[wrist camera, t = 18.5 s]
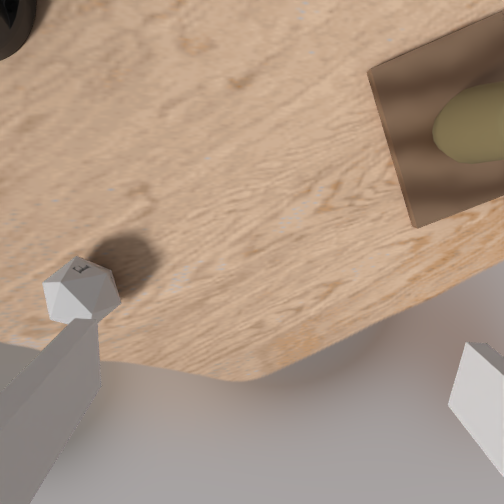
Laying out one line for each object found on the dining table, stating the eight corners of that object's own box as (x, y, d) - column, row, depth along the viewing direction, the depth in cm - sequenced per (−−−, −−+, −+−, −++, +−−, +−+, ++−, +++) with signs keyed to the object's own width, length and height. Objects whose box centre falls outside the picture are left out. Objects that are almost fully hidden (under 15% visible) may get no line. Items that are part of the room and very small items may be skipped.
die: (142, 289, 49) (110, 266, 40) (104, 344, 46) (62, 333, 37) (98, 263, 51) (58, 236, 42) (60, 315, 48) (9, 298, 39)
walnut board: (366, 72, 41) (370, 68, 39) (493, 16, 39) (502, 11, 38) (412, 226, 45) (417, 228, 44) (526, 182, 44) (535, 182, 42)
